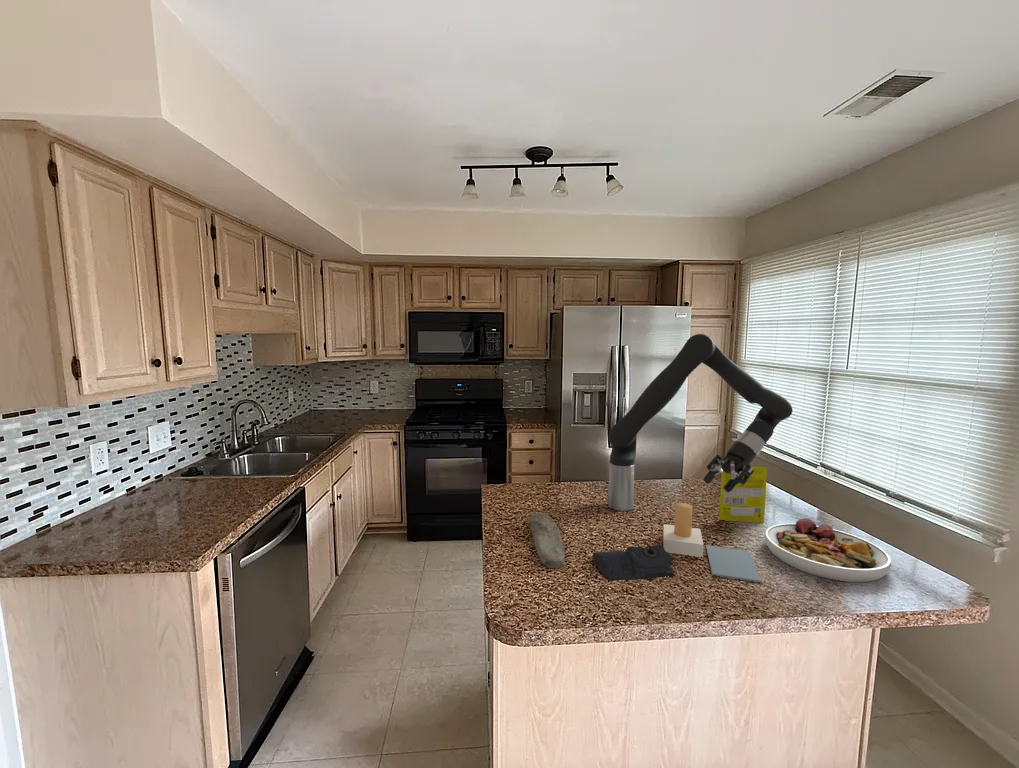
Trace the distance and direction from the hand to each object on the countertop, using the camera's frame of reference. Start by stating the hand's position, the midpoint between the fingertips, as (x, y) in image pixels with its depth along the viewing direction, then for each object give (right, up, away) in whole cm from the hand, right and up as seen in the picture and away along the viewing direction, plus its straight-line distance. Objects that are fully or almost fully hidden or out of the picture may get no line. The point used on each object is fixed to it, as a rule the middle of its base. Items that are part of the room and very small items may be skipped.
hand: (715, 486), depth 140 cm
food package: (+18, -17, +18) cm, 30 cm away
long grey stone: (-54, -18, +1) cm, 57 cm away
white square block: (-11, -18, -2) cm, 22 cm away
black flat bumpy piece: (-30, -20, -14) cm, 39 cm away
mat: (-1, -19, -13) cm, 23 cm away
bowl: (+27, -20, -10) cm, 35 cm away
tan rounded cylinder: (-11, -14, -2) cm, 18 cm away
